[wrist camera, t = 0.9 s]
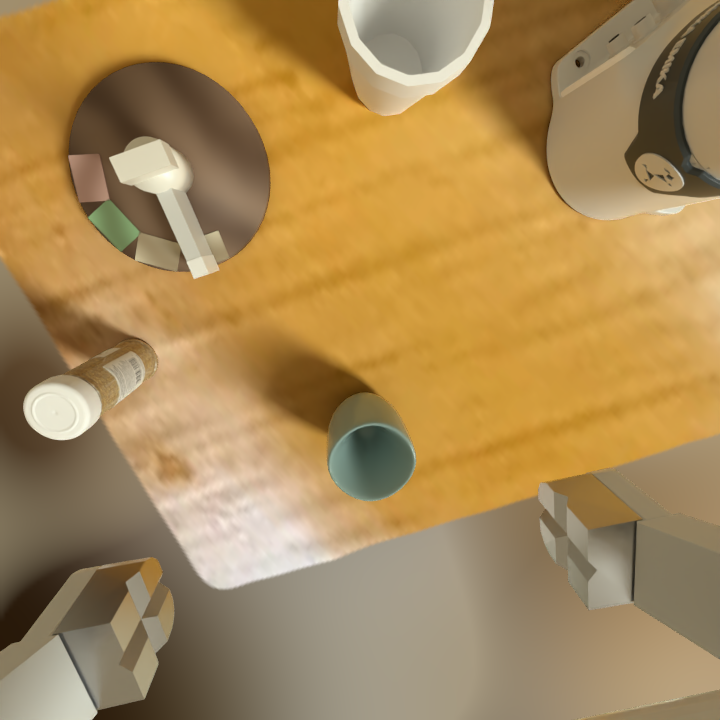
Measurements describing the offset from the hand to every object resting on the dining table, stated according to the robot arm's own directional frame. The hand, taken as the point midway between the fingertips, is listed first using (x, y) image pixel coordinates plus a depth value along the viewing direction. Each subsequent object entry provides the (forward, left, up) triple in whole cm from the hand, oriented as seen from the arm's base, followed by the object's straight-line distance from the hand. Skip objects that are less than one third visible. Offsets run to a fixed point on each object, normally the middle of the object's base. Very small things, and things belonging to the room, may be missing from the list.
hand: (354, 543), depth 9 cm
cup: (+8, +11, -35) cm, 38 cm away
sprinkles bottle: (+18, -11, -35) cm, 41 cm away
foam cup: (-18, -9, -35) cm, 41 cm away
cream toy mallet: (+2, -15, -34) cm, 37 cm away
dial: (+1, -18, -35) cm, 40 cm away
